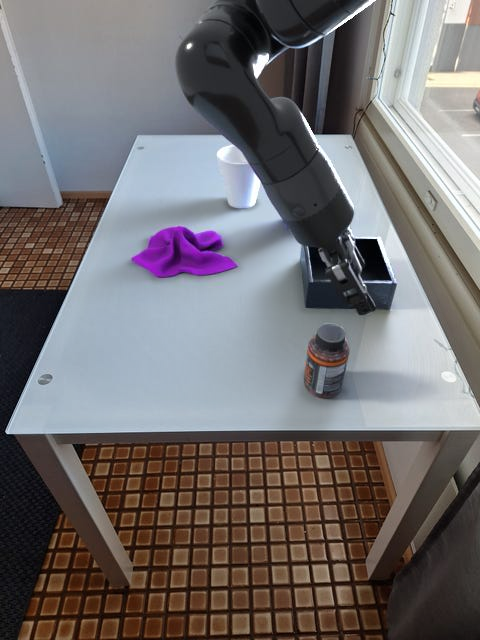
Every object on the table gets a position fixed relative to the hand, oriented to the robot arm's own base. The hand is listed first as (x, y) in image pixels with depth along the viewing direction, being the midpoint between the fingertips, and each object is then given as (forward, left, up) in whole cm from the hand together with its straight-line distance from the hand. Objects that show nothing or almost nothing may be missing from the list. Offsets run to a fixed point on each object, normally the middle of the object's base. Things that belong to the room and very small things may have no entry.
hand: (362, 288), depth 62 cm
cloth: (+43, -16, -19) cm, 49 cm away
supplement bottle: (+3, +2, -19) cm, 19 cm away
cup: (+46, -42, -19) cm, 65 cm away
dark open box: (+11, -24, -18) cm, 32 cm away
